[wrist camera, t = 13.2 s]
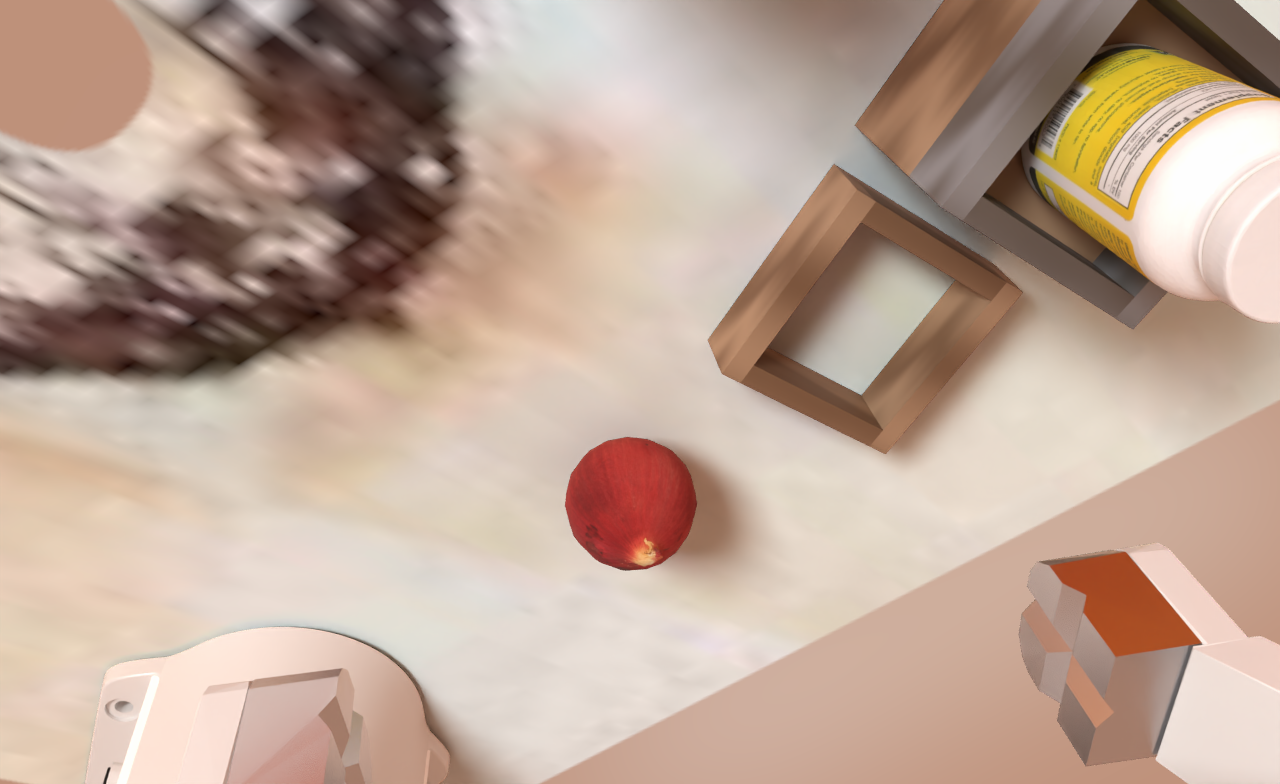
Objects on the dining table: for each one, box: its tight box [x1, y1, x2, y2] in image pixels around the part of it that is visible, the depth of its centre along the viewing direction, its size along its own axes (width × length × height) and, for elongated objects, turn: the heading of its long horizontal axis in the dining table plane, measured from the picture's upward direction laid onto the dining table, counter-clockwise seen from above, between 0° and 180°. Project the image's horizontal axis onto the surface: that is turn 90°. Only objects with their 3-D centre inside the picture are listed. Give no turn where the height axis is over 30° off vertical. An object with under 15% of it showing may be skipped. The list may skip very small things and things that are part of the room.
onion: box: [565, 437, 697, 571], centre depth 46 cm, size 6×6×8 cm
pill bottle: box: [1021, 43, 1280, 323], centre depth 32 cm, size 6×6×11 cm
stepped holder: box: [708, 0, 1280, 454], centre depth 40 cm, size 21×10×9 cm, turn 148°
